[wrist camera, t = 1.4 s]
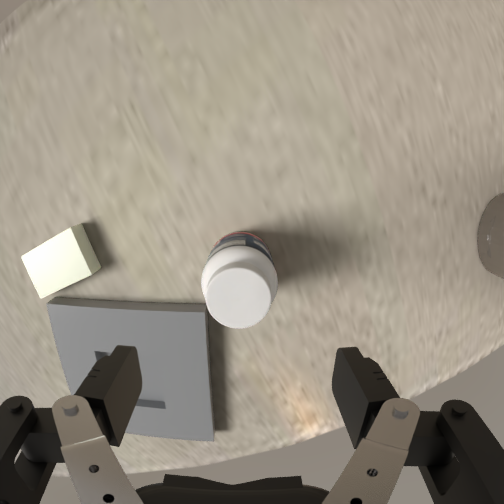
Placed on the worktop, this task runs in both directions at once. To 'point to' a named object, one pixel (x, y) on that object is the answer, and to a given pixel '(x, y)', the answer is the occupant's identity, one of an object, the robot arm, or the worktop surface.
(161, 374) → the grey square slab
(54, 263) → the soap bar
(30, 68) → the worktop surface
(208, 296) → the pill bottle
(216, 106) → the worktop surface
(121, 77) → the worktop surface
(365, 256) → the worktop surface
